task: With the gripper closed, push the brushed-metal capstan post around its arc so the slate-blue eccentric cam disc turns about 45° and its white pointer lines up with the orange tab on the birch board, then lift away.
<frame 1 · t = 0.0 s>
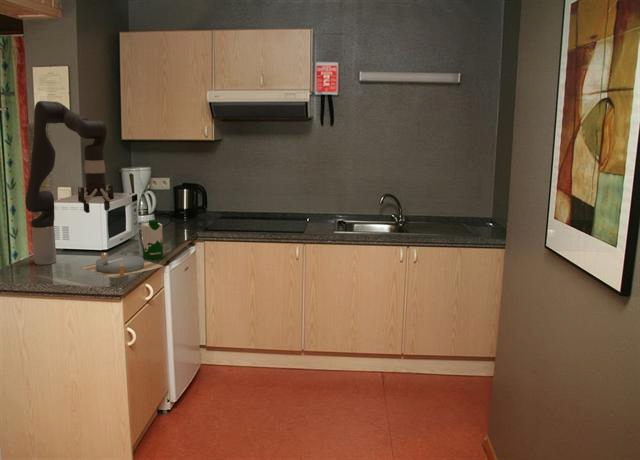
hand: (97, 211, 220), 29 cm above the countertop, tool pointing down, fingers open, 8 cm apart
cam dial: (119, 258, 241), point 6 cm above the countertop, hinge at 0.0°
birch board: (123, 269, 243), on the countertop
milk carton: (153, 261, 261), on the countertop
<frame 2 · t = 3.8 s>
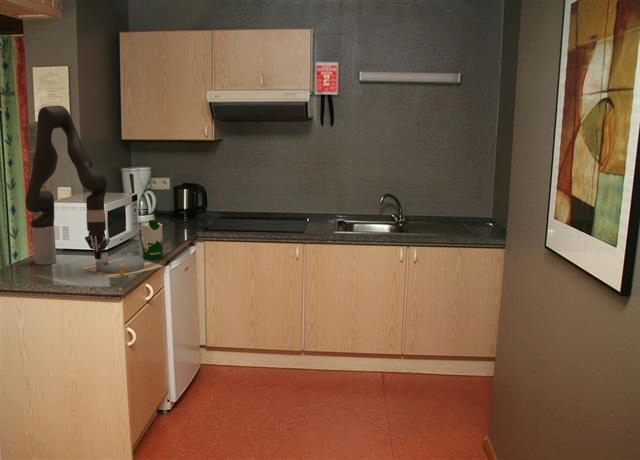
hand: (98, 259, 235), 7 cm above the countertop, tool pointing down, fingers closed
cam dial: (119, 258, 241), point 6 cm above the countertop, hinge at 0.1°, touching gripper
everything else where it was.
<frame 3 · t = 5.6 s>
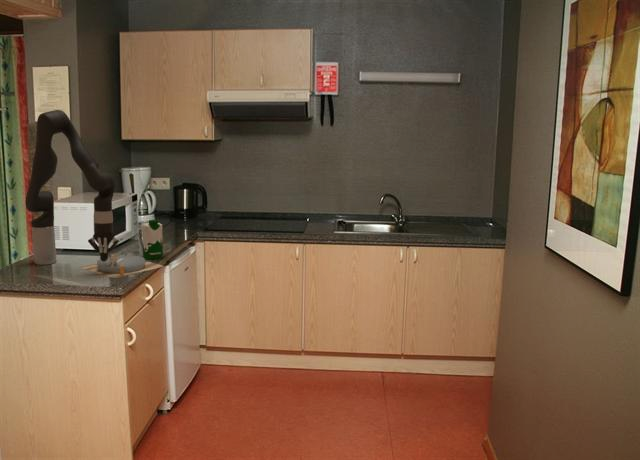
hand: (104, 260, 232), 7 cm above the countertop, tool pointing down, fingers closed
cam dial: (121, 258, 241), point 6 cm above the countertop, hinge at 24.8°, touching gripper
everything else where it was.
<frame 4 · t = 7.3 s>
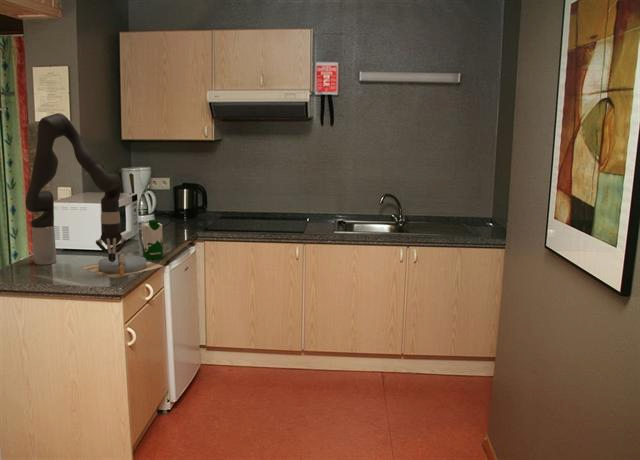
hand: (112, 261, 231), 7 cm above the countertop, tool pointing down, fingers closed
cam dial: (122, 258, 241), point 6 cm above the countertop, hinge at 44.5°, touching gripper
everything else where it was.
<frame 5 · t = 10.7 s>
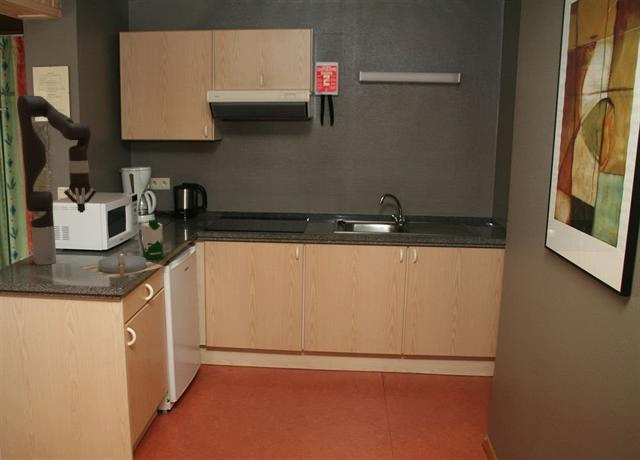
hand: (81, 212, 231), 27 cm above the countertop, tool pointing down, fingers closed
cam dial: (122, 258, 241), point 6 cm above the countertop, hinge at 44.5°
everything else where it was.
at the end: cam dial at +44° (first picture: +0°); milk carton moved 0.2 cm from its start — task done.
